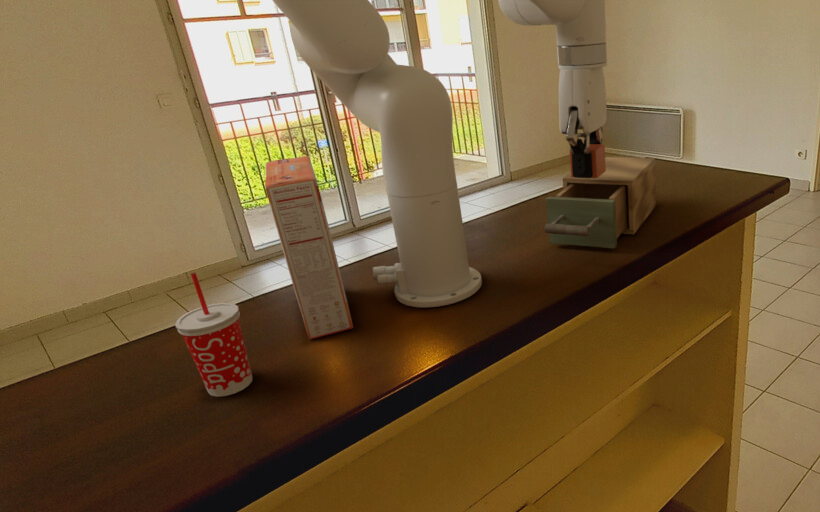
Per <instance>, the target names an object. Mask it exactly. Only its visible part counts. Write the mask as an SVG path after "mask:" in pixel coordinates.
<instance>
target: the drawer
mask: <svg viewBox="0 0 820 512" xmlns="http://www.w3.org/2000/svg"><path fill="white" fill-rule="evenodd" d="M545 204H546V214H547V223H545V225H544V233H545V234H548V237H549V244H555V245H567V246H580V247H581V246H582V247H591V248H604V249H616V248H617V247H618V238H619V237H620V236H621V235H622V234H621V233H622V232H623V231H624V230H625V228H626V227H627V226H628V225H629V207H628V185H609V184H585V183H571V184H570V185H569V186H568V187H566V188H565V189H564V190H563V189H562V190H561V191H560V192H558V193H557V194H556V195H555V196H548V197H546V198H545Z"/></svg>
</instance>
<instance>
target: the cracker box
mask: <svg viewBox="0 0 820 512" xmlns="http://www.w3.org/2000/svg"><path fill="white" fill-rule="evenodd" d="M264 183H265V184H264V188H265V193H266V195H267V199H268V202H269V203H268V204H269V207H270V210H271V214H272V217H273V221H274V224H275V228H276V231H277V235H278V238H279V241H280V245H281V248H282V252H283V256H284V259H285V263H286V266H287V269H288V273H289V277H290V279H291V283H292V287H293V290H294V293H295V296H296V300H297V304H298V306H299V310H300V313H301V316H302V321H303V325H304V328H305V331H306V334H307V337H308V340H314V339H319V338H322V337H325V336H328V335H333V334H337V333H341V332H344V331H345V332H346V331H349V330H352V329H354V325H353V321H352V315H351V311H350V307H349V303H348V299H347V294H346V291H345V287H344V283H343V279H342V278H343V277H342V274H341V271H340V267H339V266H340V265H339V262H338V259H337V254H336V250H335V246H334V242H333V238H332V233H331V231H330V227H329V222H328V218H327V214H326V210H325V206H324V203H323V198H322V195H321V191H320V187H319V184H318V180H317V177H316V174H315V170H314V167H313V164H312V162H311V158H310V156H309V155H304V156H298V157H291V158H290V157H289V158H281V159H275V160H271V161H267V162H265V182H264Z"/></svg>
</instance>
